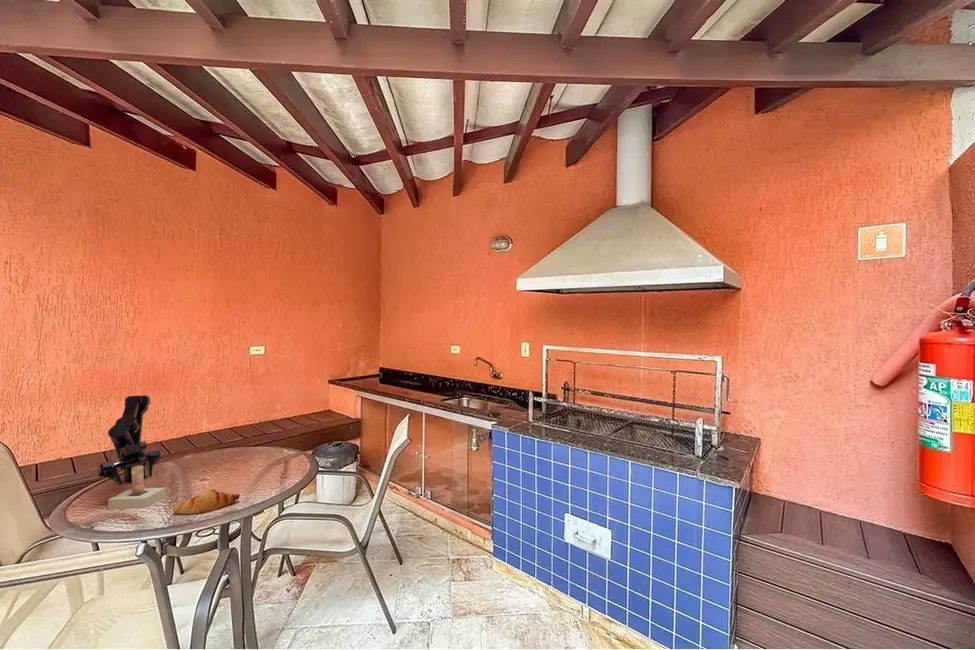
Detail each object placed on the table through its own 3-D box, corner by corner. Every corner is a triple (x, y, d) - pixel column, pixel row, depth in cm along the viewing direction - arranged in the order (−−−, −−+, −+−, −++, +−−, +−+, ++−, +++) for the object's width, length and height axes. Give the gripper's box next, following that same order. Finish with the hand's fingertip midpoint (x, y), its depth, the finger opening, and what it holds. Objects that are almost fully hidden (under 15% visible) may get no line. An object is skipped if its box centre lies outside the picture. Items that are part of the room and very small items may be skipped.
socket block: (108, 508, 152) (108, 499, 152) (130, 497, 162) (130, 488, 162) (146, 507, 153) (146, 498, 153) (166, 496, 163) (166, 487, 163)
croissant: (170, 527, 144) (167, 512, 141) (175, 504, 152) (172, 490, 148) (239, 512, 154) (238, 497, 151) (240, 491, 162) (239, 477, 158)
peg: (129, 504, 156) (129, 468, 155) (137, 500, 159) (136, 465, 159) (139, 504, 156) (138, 468, 156) (146, 500, 159) (145, 465, 159)
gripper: (98, 442, 153) (109, 477, 147) (158, 430, 169) (170, 461, 163) (92, 459, 157) (103, 493, 152) (151, 446, 173) (162, 476, 167)
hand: (136, 480), depth 158 cm, fingers open, 9 cm apart
